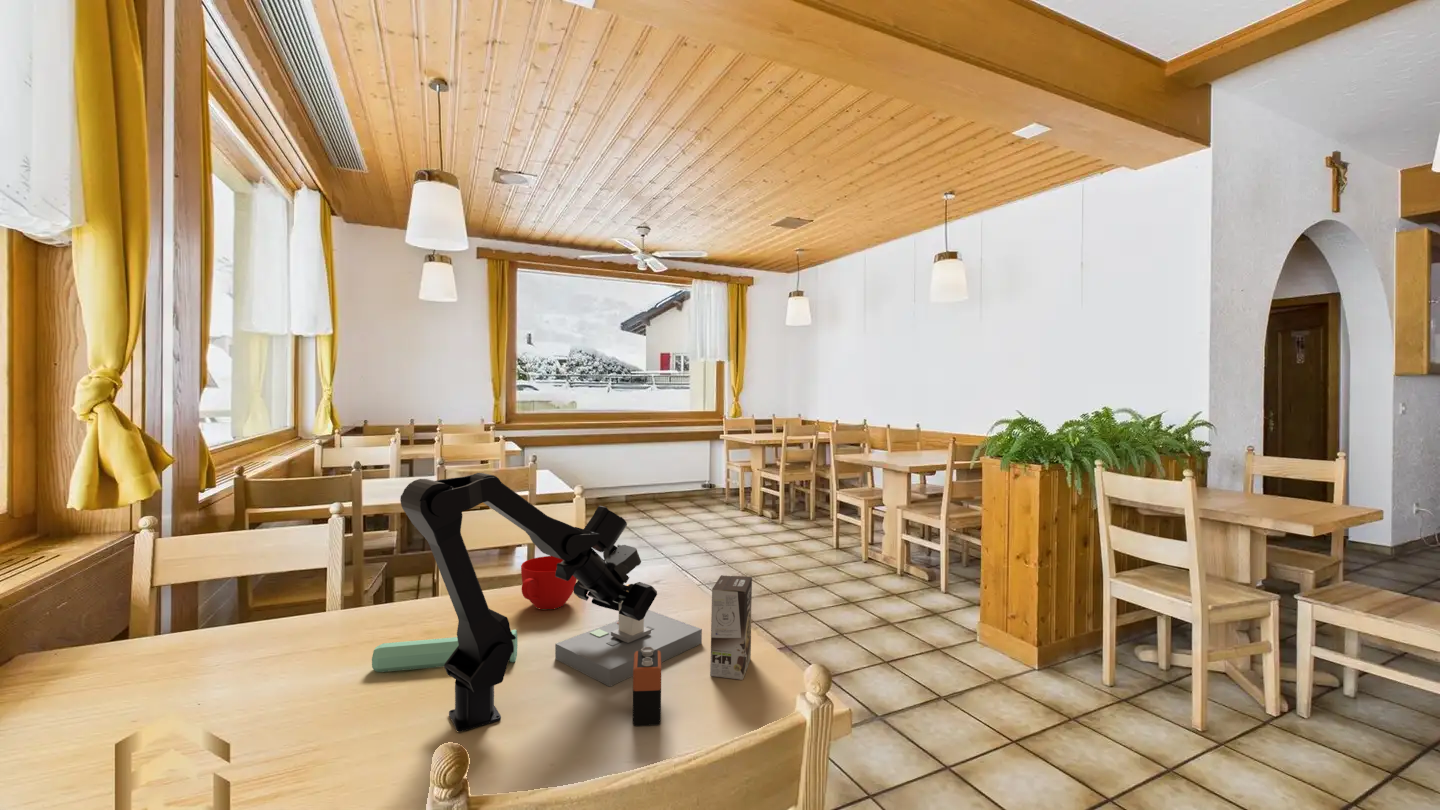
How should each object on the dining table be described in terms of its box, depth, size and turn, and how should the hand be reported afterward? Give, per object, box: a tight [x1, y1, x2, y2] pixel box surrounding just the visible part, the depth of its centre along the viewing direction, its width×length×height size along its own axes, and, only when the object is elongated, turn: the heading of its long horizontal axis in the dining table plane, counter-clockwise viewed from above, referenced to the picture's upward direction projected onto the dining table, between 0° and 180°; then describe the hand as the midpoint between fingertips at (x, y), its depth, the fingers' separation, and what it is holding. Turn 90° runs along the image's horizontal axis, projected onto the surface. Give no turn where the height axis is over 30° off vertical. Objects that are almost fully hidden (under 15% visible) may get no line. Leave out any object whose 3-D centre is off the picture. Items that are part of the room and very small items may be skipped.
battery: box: [632, 647, 662, 727], centre depth 99 cm, size 4×7×10 cm, turn 6°
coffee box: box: [709, 574, 753, 681], centre depth 115 cm, size 9×6×16 cm
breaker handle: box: [611, 583, 651, 643], centre depth 122 cm, size 6×5×9 cm
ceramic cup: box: [520, 555, 578, 610], centre depth 144 cm, size 13×17×10 cm
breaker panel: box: [554, 609, 703, 688], centre depth 122 cm, size 24×16×3 cm, turn 140°
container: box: [371, 629, 518, 673], centre depth 115 cm, size 6×6×25 cm
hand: (636, 613), depth 123 cm, fingers closed on breaker handle, 4 cm apart
